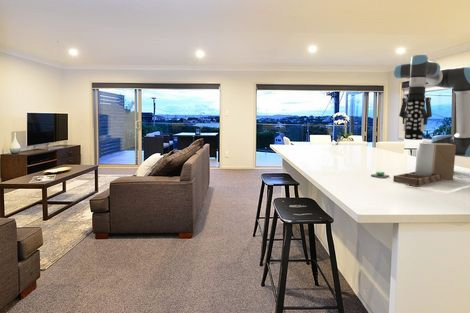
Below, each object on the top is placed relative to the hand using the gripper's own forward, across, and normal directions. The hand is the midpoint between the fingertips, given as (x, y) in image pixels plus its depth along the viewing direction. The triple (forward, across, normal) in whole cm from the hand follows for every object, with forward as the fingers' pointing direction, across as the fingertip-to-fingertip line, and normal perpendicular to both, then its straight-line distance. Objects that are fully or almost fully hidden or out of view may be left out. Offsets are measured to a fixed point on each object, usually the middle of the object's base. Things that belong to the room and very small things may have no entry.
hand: (413, 130), depth 183 cm
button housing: (+28, -17, -1) cm, 33 cm away
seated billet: (+27, +1, +12) cm, 29 cm away
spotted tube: (+5, 0, 0) cm, 5 cm away
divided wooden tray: (+28, +1, +6) cm, 28 cm away
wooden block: (+28, +3, +26) cm, 38 cm away
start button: (+27, -17, -1) cm, 32 cm away
